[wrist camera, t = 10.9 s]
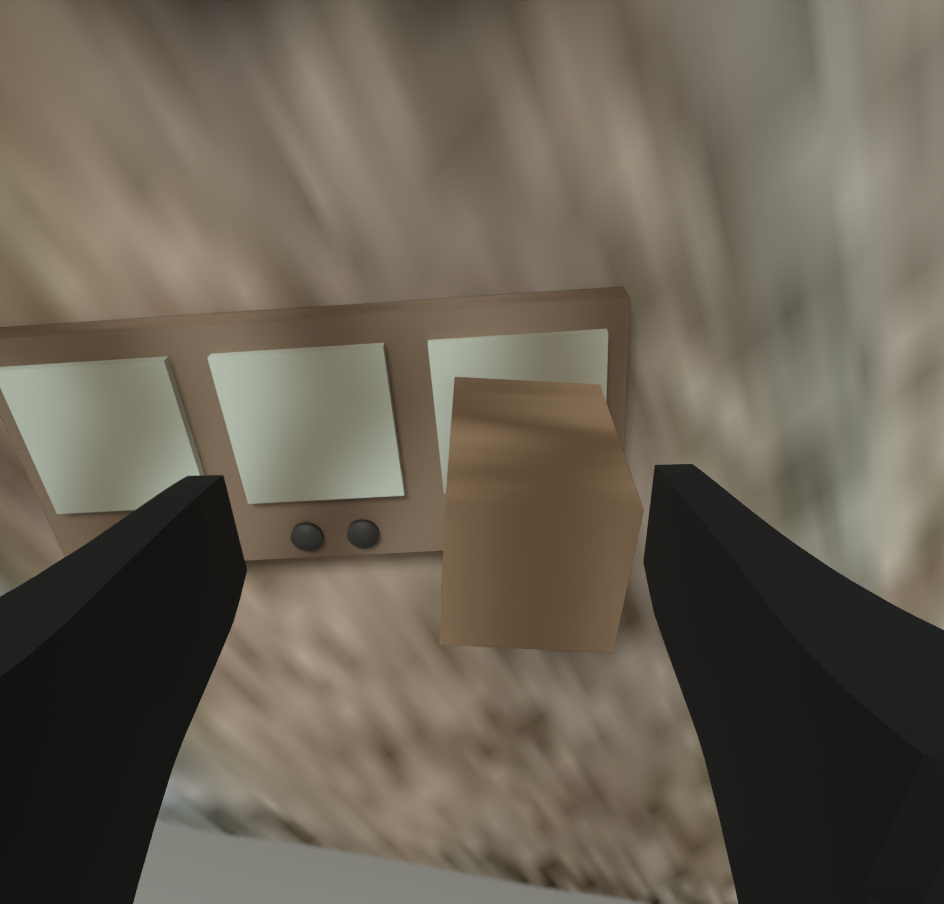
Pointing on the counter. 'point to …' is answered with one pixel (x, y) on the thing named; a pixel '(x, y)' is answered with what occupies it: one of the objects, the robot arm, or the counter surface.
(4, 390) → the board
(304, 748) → the counter surface
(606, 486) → the walnut block
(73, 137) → the counter surface
